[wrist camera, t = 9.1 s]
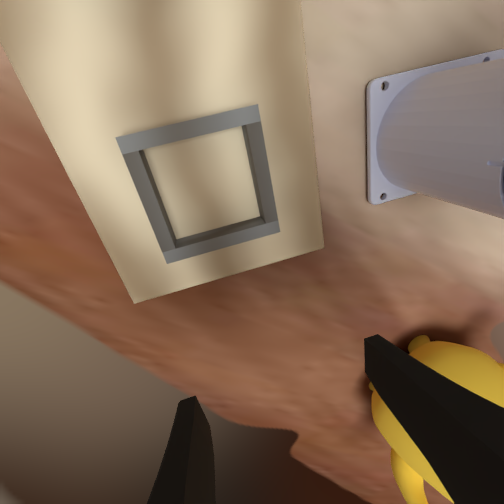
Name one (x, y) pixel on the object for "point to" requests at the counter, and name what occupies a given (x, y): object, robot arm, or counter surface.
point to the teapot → (459, 371)
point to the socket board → (176, 129)
